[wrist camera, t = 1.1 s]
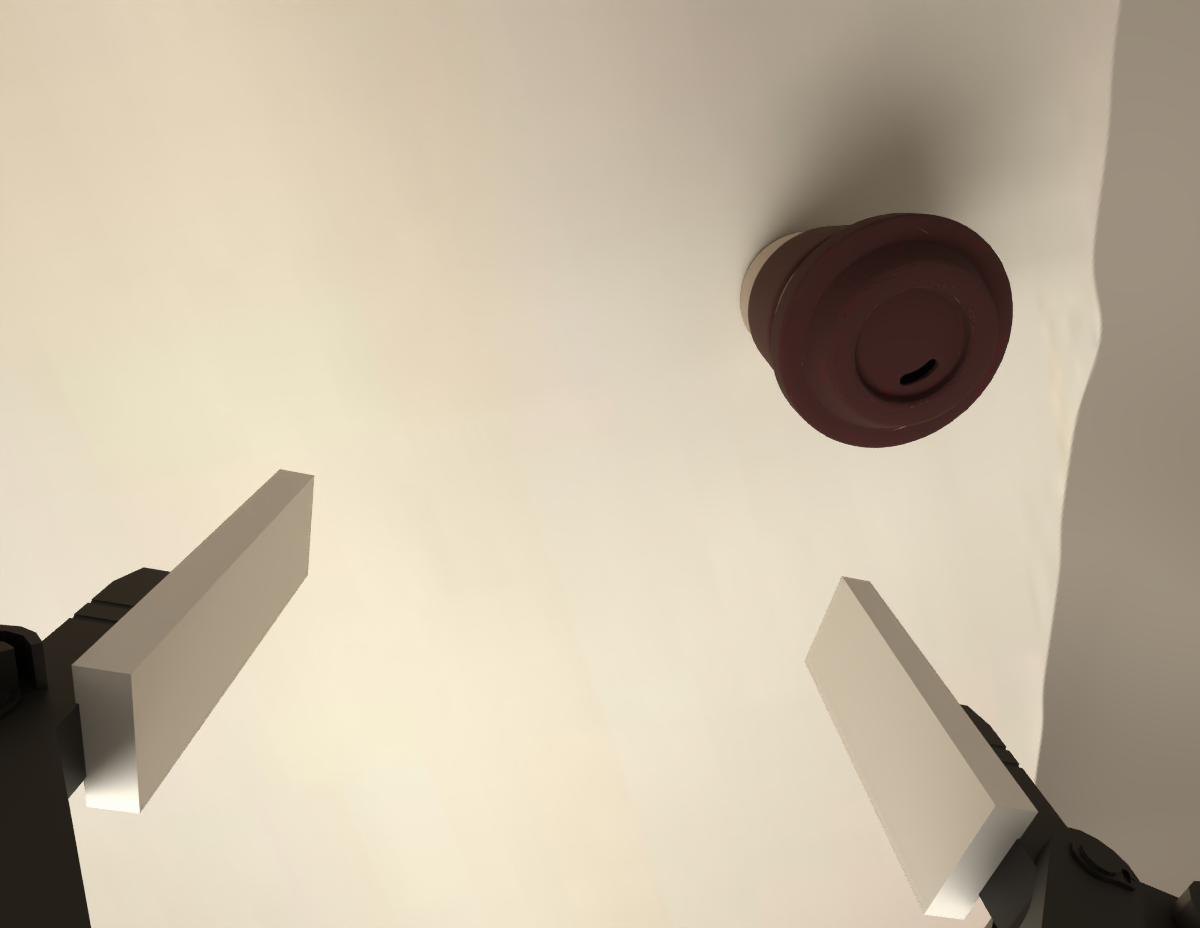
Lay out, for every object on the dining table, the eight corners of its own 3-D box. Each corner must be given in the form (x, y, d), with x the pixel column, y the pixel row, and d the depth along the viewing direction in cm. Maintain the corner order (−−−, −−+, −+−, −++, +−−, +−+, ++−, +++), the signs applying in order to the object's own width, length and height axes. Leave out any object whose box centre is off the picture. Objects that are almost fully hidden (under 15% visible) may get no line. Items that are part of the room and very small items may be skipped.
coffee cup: (724, 205, 38) (810, 211, 24) (892, 209, 38) (1072, 218, 24) (709, 371, 41) (776, 461, 28) (861, 374, 42) (1003, 463, 28)
